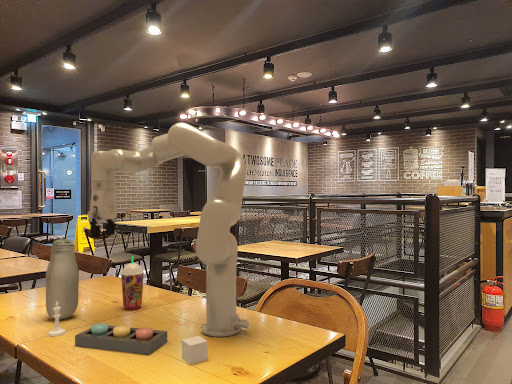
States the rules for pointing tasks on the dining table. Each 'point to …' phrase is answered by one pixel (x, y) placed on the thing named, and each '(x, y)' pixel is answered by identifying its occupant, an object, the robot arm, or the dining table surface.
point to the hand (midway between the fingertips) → (103, 236)
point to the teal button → (99, 329)
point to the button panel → (121, 341)
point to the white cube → (194, 350)
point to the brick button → (144, 333)
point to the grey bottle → (62, 279)
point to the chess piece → (56, 323)
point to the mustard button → (121, 331)
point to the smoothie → (132, 286)
